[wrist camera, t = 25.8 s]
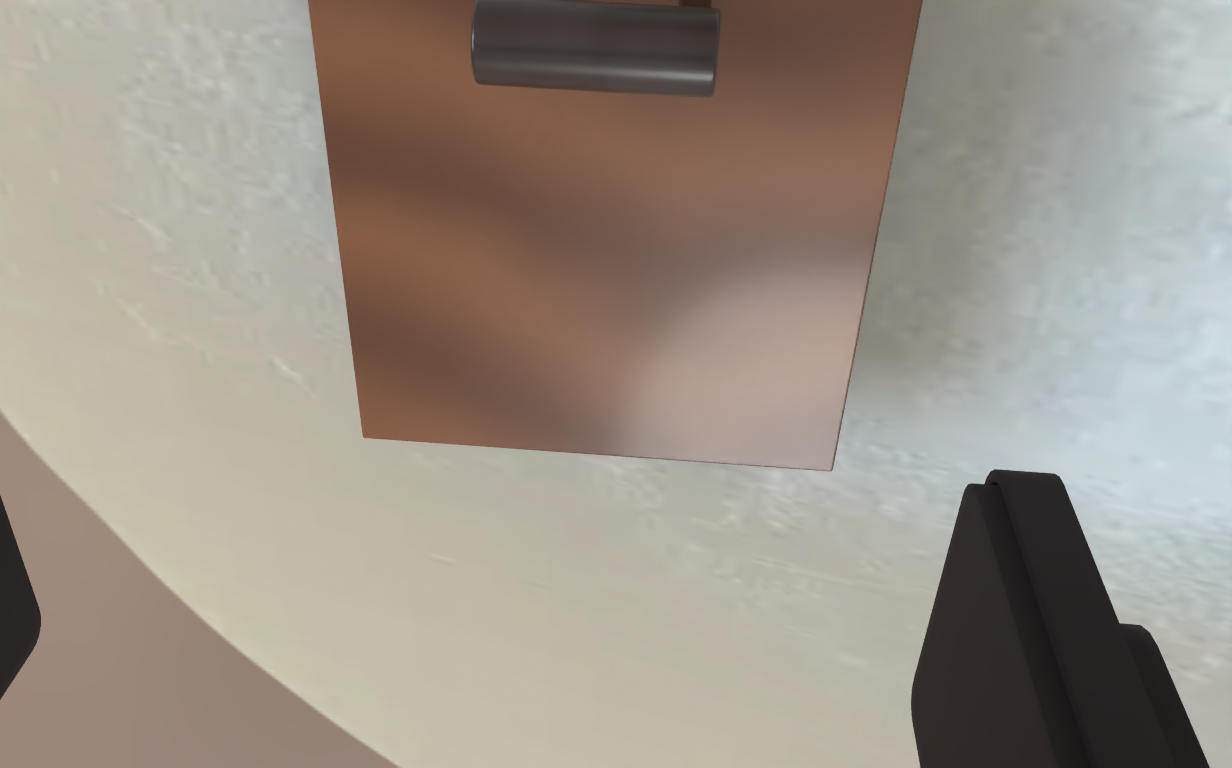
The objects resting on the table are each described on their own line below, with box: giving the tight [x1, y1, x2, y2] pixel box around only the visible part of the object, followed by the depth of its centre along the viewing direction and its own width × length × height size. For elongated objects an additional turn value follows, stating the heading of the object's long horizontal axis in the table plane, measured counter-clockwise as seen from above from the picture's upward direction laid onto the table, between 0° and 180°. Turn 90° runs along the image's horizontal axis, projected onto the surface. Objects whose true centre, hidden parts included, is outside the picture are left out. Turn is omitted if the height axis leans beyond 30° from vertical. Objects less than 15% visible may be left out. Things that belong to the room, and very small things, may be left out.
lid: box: [308, 0, 923, 471], centre depth 29 cm, size 16×14×5 cm
